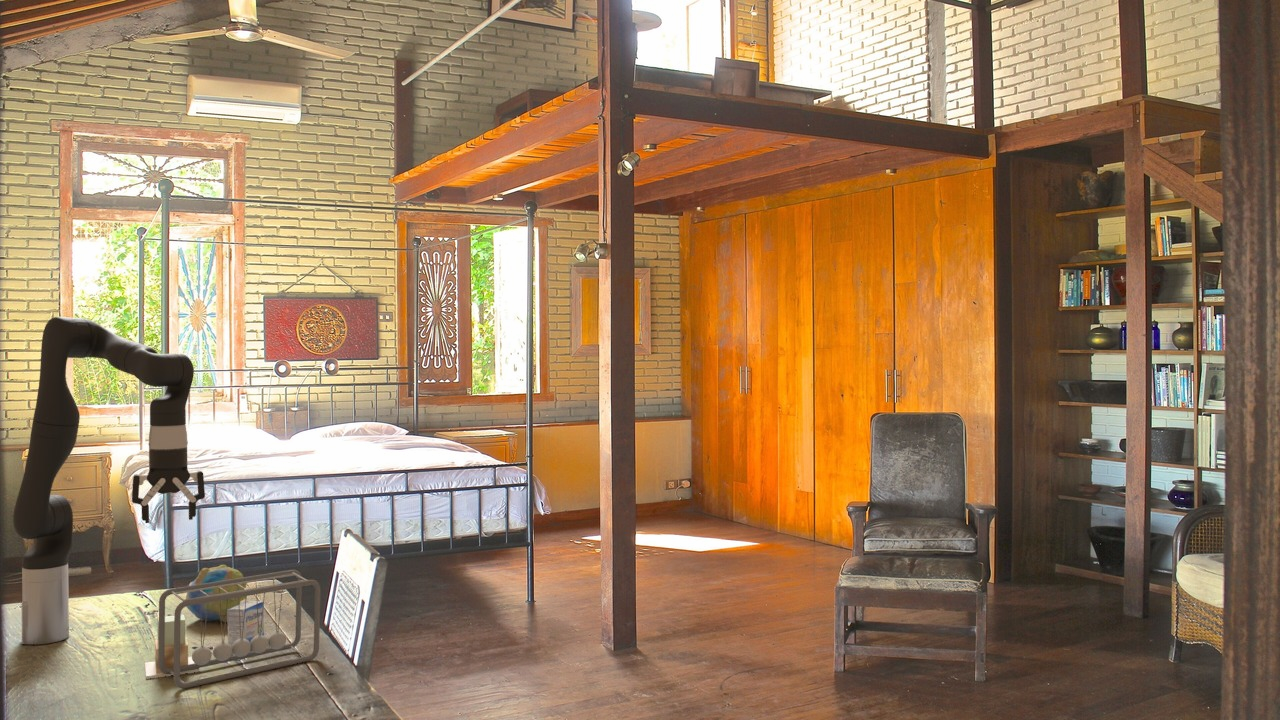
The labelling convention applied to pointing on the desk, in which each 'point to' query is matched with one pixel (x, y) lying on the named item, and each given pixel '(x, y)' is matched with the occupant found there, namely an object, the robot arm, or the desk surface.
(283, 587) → the newton's cradle
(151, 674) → the board
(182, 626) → the sage block
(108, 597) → the desk surface
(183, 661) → the oak block
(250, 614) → the medicine box
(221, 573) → the globe ball
